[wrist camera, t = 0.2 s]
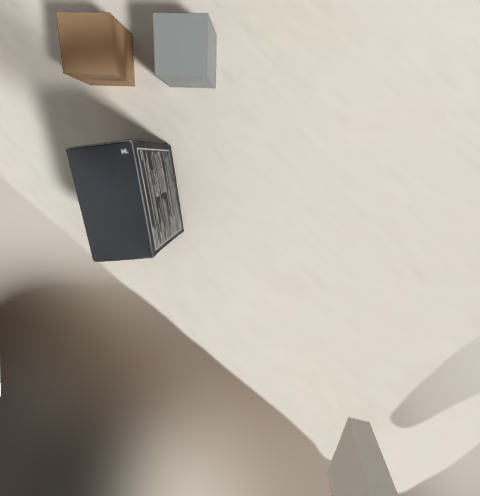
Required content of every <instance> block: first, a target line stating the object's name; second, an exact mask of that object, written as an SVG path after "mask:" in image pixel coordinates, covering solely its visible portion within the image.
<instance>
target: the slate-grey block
mask: <svg viewBox="0 0 480 496" xmlns="http://www.w3.org/2000/svg"><path fill="white" fill-rule="evenodd" d="M153 34H154V64H155V76H157V77H158V78H159V79H161V80H162V81H163V82H164V83H166V84H167V85H168V86H170V87H185V88H216V42H217V35H216V32H215V30H214V27H213V25H212V22H211V20H210V17H209V14H208V13H153Z"/></svg>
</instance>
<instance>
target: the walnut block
mask: <svg viewBox="0 0 480 496" xmlns="http://www.w3.org/2000/svg"><path fill="white" fill-rule="evenodd" d="M57 19H58V29H59V38H60V47H61V57H62V66H63V73H64V74H66V75H69V76H71V77H73V78H76V79H78V80H80V81H83V82H85V83H87V84H90V85H104V86H135V79H134V59H133V39H132V33H131V32H130V31H129V30H128V29H126V28H125V27H124V26H123V25H122V24H121V23H120V22H119V21H118V20H117V19H116V18H115V17H114V16H113V15H112V14H111V13H106V12H57Z"/></svg>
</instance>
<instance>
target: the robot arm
mask: <svg viewBox="0 0 480 496" xmlns="http://www.w3.org/2000/svg"><path fill="white" fill-rule="evenodd" d="M0 396H1V385H0ZM327 476H328V481H329V486H330V491H331V496H398V494H397V491H396V488H395V486H394V483H393V481H392V478H391V476H390V473H389V471H388V468H387V466H386V463H385V461H384V458H383V455H382V453H381V450H380V448H379V445H378V443H377V440H376V438H375V435H374V433H373V430H372V428H371V425H370V422H366V421H362V420H358V419H354V418H349V417H348V420H347V422H346V425H345V428H344V430H343V433H342V435H341V438H340V441H339V443H338V446H337V448H336V451H335V453H334V456H333V459H332V461H331V464H330V466H329V469H328V472H327Z"/></svg>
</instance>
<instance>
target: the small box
mask: <svg viewBox="0 0 480 496" xmlns="http://www.w3.org/2000/svg"><path fill="white" fill-rule="evenodd" d="M66 152H67V156H68V160H69V164H70V168H71V172H72V176H73V180H74V184H75V188H76V192H77V196H78V200H79V204H80V208H81V212H82V216H83V220H84V225H85V229H86V233H87V237H88V241H89V245H90V249H91V254H92V258H93V261H95V262H104V261H119V260H132V259H144V258H153V257H154V256H155V255H156V254H157V253H158V252H159V251H160V250H161V249H163V247H165V246H166V245H167V244H169V243H170V242H171V241H172V240H173V239H174V238H176V237H177V236H178V235H179V234H181V233H182V232H183V231H184V229H183V223H182V216H181V210H180V203H179V196H178V190H177V184H176V176H175V170H174V164H173V158H172V152H171V146H170V145H169V144H167V143H165V144H158V143H150V142H141V141H133V140H124V141H116V142H107V143H100V144H90V145H83V146H75V147H68V148H66Z"/></svg>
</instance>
